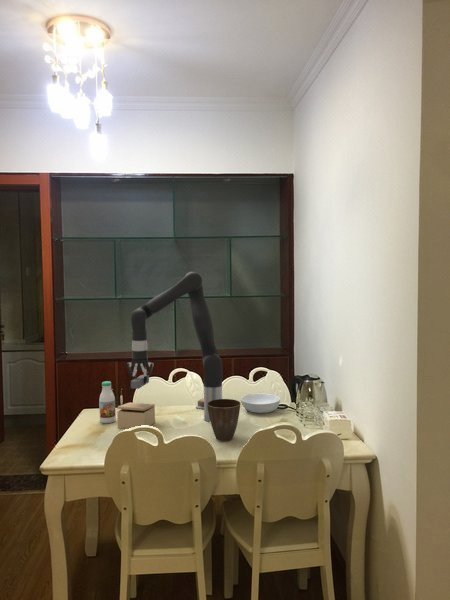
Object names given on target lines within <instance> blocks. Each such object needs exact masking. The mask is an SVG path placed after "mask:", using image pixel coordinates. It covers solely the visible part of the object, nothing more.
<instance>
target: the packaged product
mask: <svg viewBox="0 0 450 600" xmlns="http://www.w3.org/2000/svg"><path fill="white" fill-rule="evenodd" d="M195 409H196V410H203V411H204V397H202V398H201V399H199V400H198V401H197V406H196V407H195Z"/></svg>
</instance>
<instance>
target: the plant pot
mask: <svg viewBox="0 0 450 600" xmlns="http://www.w3.org/2000/svg"><path fill="white" fill-rule="evenodd" d="M241 405H242V403H241V401H239V400H237V399H231V398H222V399H217V400H212V401H209V402H208V403H207V407H208V413H209V418H210V422H209V423H210V425H211V428H212V431H213V434H214V437H215V439H216V440H217V441H220V442H229V441H232V440H233V439H234V436H235V432H236V430H237V426H238V422H239V418H240V417H239V416H240V410H241Z"/></svg>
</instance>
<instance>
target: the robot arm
mask: <svg viewBox="0 0 450 600" xmlns="http://www.w3.org/2000/svg"><path fill="white" fill-rule="evenodd" d="M184 275H185V276H184V277H183V278H182V279H180V281H178V282H177V283H175V284H174V285H173V286H171V287H170V288H169V289H167V290H164V291H163V292H161V293H159V294H158V295H156V296H154V297H153V298H151V299H150V300H148V301H147V302H146V303H145V304H143V305H141V306H140V307H138V308H136V309H135V310H133V311H132V312H131V316H130V321H131V322H130V323H131V330H132V332H131V336H132V337H131V339H132V342H131V362H127V363H126V364H125V366H126V369H127V374H128V375H129V376H132V380H134V379H135V378H137V373H138V372H137V371H138V370H139V371H142V373H143V375H144V384H145V385H147V384H148V383H147V381H148V380H147V376H148V375H149V376H150V375H152V372H153V368H154V365H155V363H154V362H150V361H149V359H148V347H149V346H148V341H147V340H148V338H147V332H148V331H147V329H146V321H147V320H148V319H149V318H151V317H152V316H153V315H155V314H157V313H160V311H162V310H164V309H165V308H167V307H168V306H169V305H171V304H173V302H175V301H177V300H178V299H179V298H181V297H183V296H185V295H187V294H188V295H187V296H188V298H189V301H190V312H191V313H190V314H191V319H192V323H193V327H194V331H195V334H196V338H197V339H198V342H199V346H200V349H201V350H200V351H201V356H202V365H203V398H204V410H203V412H204V413H203V417H204V421H206V422H208V423H211V422H210V418H209V413H208V407H207V403H208V402H209V401H212V400H217V399H223V360H222V358H221V357H220V355H219V353H218V349H217V346H216V343H215V332H214V325H213V320H212V317H211V313H210V309H209V306H208V304H207V302H206V299H205V295H204V289H203V277H202V276H201V274H200V273H199V272H196V271H189V272H187V273H186V274H184ZM132 366H133V370H132ZM147 366H148V367H149V368H148V371H147ZM146 383H147V384H146Z"/></svg>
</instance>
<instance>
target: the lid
mask: <svg viewBox="0 0 450 600" xmlns="http://www.w3.org/2000/svg"><path fill="white" fill-rule="evenodd" d="M154 406H156V405H155V404H154V403H145V402H143V403H142V402H127V403H124V404H121V405H118V406H117V410H121V409H127V410H141V411H145V410H147V409H149V408H152V407H154Z"/></svg>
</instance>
